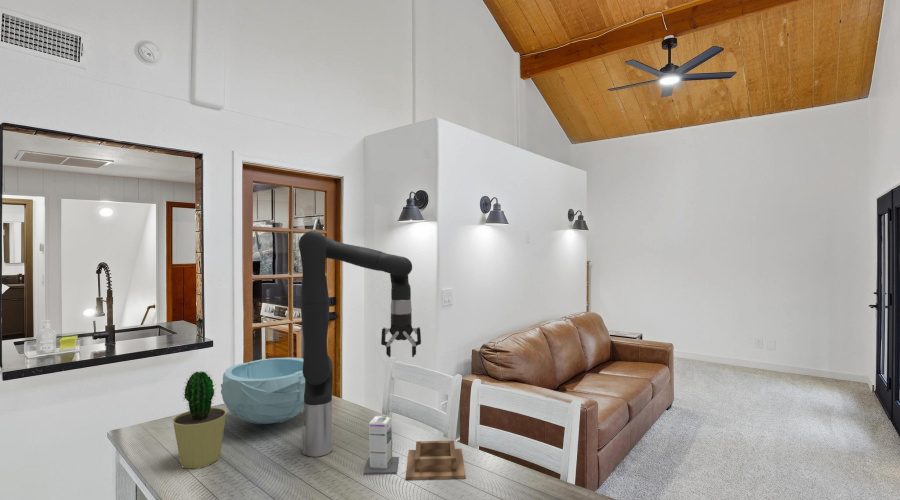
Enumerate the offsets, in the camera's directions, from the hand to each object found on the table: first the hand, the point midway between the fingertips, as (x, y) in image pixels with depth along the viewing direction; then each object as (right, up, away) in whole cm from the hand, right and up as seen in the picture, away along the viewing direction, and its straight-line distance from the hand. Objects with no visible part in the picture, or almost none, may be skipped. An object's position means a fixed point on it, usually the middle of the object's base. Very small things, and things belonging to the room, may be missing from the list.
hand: (401, 356), depth 165 cm
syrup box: (-4, -30, -20) cm, 36 cm away
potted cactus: (-64, -31, -15) cm, 73 cm away
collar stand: (+13, -30, -19) cm, 38 cm away
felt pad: (-4, -30, -20) cm, 36 cm away
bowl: (-54, -30, +16) cm, 64 cm away
